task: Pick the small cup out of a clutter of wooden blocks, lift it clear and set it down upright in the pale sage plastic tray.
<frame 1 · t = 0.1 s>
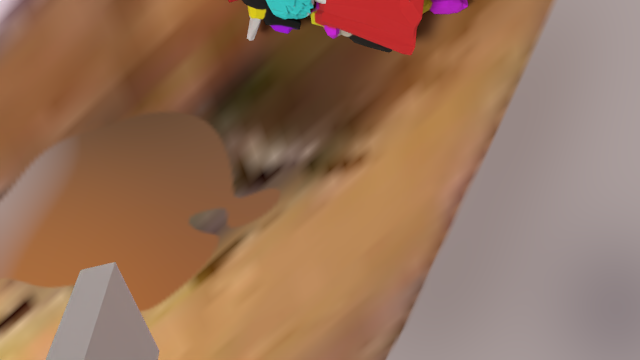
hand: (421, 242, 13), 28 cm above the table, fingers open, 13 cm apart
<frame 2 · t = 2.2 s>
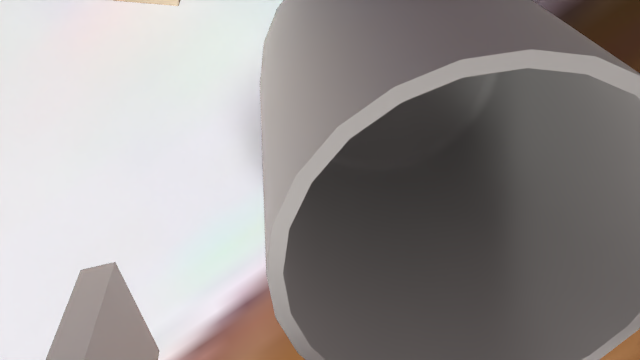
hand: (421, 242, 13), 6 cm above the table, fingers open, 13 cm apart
cup: (368, 105, 18), on the table
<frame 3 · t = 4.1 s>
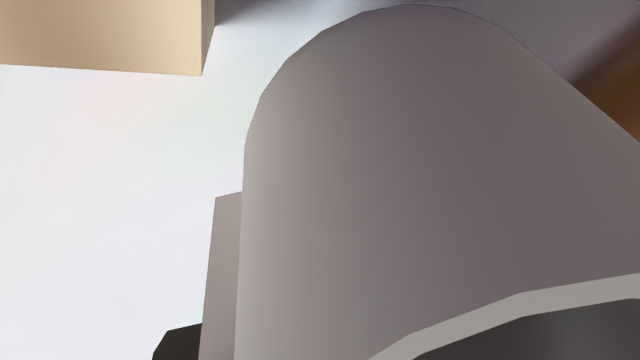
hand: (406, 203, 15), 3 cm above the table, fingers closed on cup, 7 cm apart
cup: (379, 196, 15), point 3 cm above the table, touching gripper
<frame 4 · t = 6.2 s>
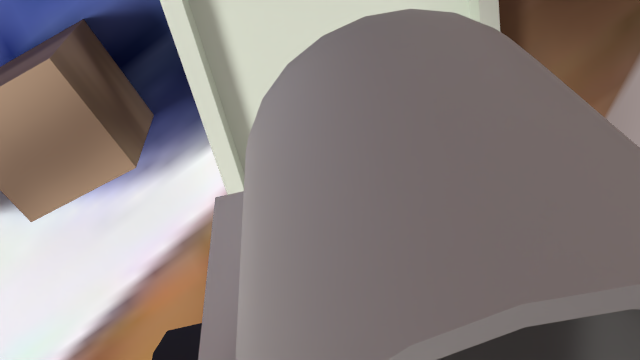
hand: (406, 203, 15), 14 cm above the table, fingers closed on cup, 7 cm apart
tray: (337, 32, 26), on the table
cup: (380, 200, 15), point 13 cm above the table, touching gripper
walnut block: (73, 94, 27), on the table
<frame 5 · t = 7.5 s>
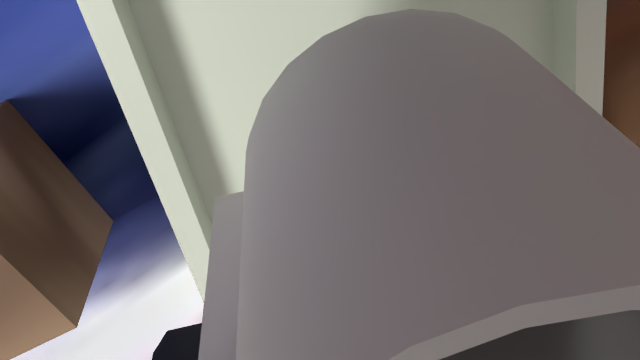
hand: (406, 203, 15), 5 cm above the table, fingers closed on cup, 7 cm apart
tray: (367, 112, 19), on the table
cup: (380, 200, 15), point 5 cm above the table, touching gripper
walnut block: (0, 197, 19), on the table
when the fingers open (2 cm above the table, at t = 8.6 s): cup stays where it is, resting on tray.
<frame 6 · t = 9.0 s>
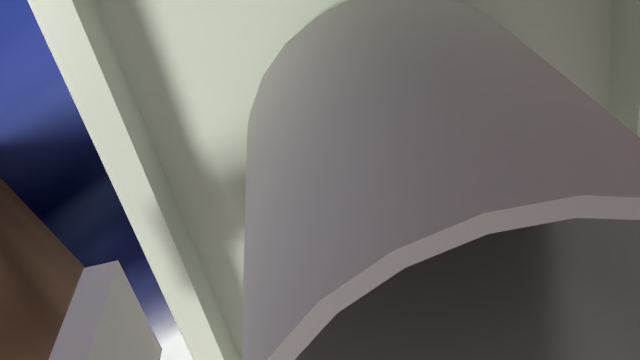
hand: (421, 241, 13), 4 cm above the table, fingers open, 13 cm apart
tray: (389, 161, 16), on the table
cup: (373, 173, 16), resting on tray
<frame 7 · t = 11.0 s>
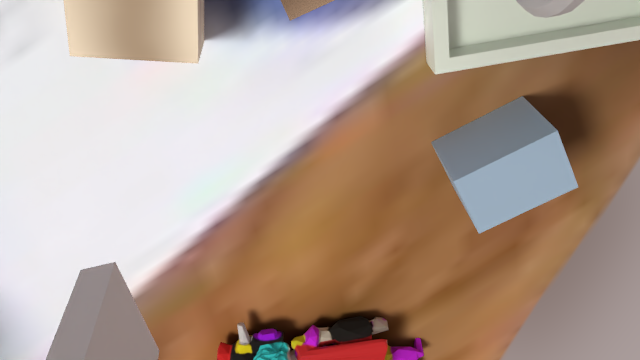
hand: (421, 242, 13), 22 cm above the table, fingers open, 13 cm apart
toy: (320, 342, 45), on the table
blue painted block: (487, 144, 38), on the table
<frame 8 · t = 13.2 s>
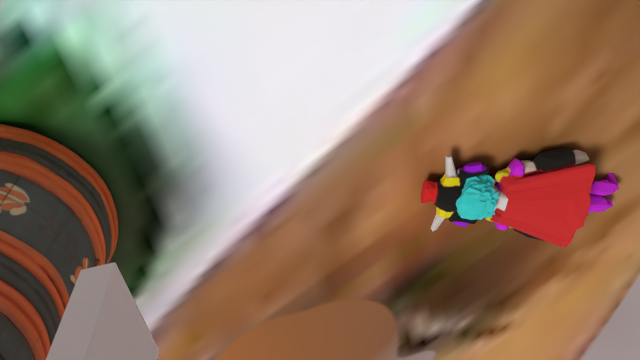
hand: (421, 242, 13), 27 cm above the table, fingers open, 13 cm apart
toy: (513, 183, 46), on the table
beer stein: (17, 238, 44), on the table
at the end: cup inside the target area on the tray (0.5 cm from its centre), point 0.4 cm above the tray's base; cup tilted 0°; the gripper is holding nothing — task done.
